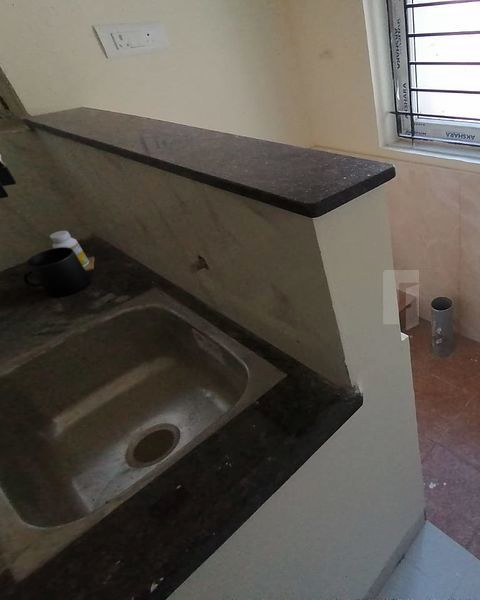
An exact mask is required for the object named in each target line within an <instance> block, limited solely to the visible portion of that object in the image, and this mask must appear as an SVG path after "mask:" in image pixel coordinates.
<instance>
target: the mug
mask: <svg viewBox="0 0 480 600" xmlns="http://www.w3.org/2000/svg"><path fill="white" fill-rule="evenodd" d="M26 266H27V268H28V269H29V270H27V271H25V272H24V273H23V274H22V277H21V279H22V282H23V283H24V284H26V286H28V287H34V288H38V287H39V288H43V290H44V291H45V293H46V294H47V295H48V296H50V297H54V298H61V297H67V296H70V295H71V296H72V295H74V294H76V293H79V292H80V291H82V290H84V289H86V288H87V287H88V286H89V285H90V284H91V277H90V275H89V273H88V271H86V270H85V269H84V267H83V265H82V264H81V262H80V261H79V259H78V257H77V256H76V254H75V252H74V251H73V250H72V249H71V248H67V247H60V248H54V249H53V248H50V249H46V250H43V251H40V252H38V253H35V254H34V255H33V256H31V257H30V258H29V259H27V261H26ZM31 274H33V276H34V277H35V278H36V280H37V282H32V281H29V279H28V276H29V275H31Z"/></svg>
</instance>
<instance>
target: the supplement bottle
mask: <svg viewBox="0 0 480 600" xmlns="http://www.w3.org/2000/svg"><path fill="white" fill-rule="evenodd" d="M49 238H50V240H51V241H52V249H54V248H60V247H67V248H71V249H72V250H73V251H74V252H75V254H76V256H77V257H78V259H79V261H80V262H81V264H82V265H83V267H85V266H86V265H88V263H89V260H88V259H87V258H88V257H87V255H86V254H85V252H84V250H83V249H82V247H81V245H80V244H79V242H78V240H77V239H75V238H74V237H71V234H70V233H69V231H67V230H59V231H56V232H52V233H51V234H50V235H49Z"/></svg>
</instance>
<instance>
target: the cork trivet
mask: <svg viewBox="0 0 480 600" xmlns="http://www.w3.org/2000/svg"><path fill="white" fill-rule="evenodd" d="M87 259H88V260H89V263H88V265H86V266H85V267H84V269H85V270H86V272H88V271H89V272H90V271H92V270H95V269H94V268H95V267H94V266H95V256H90V257H87Z"/></svg>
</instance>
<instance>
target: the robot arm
mask: <svg viewBox="0 0 480 600" xmlns="http://www.w3.org/2000/svg"><path fill="white" fill-rule="evenodd" d="M16 184H17V181H16V179H15V178H14V176H13V175H12V173H11V171H10V170H9V168H8V166H7V165H6V162H4V160H2V154H1V153H0V199H5V198H8V197H9V193H8V192H7V190H6V189H5V186H12V185H13V186H14V185H16Z"/></svg>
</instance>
